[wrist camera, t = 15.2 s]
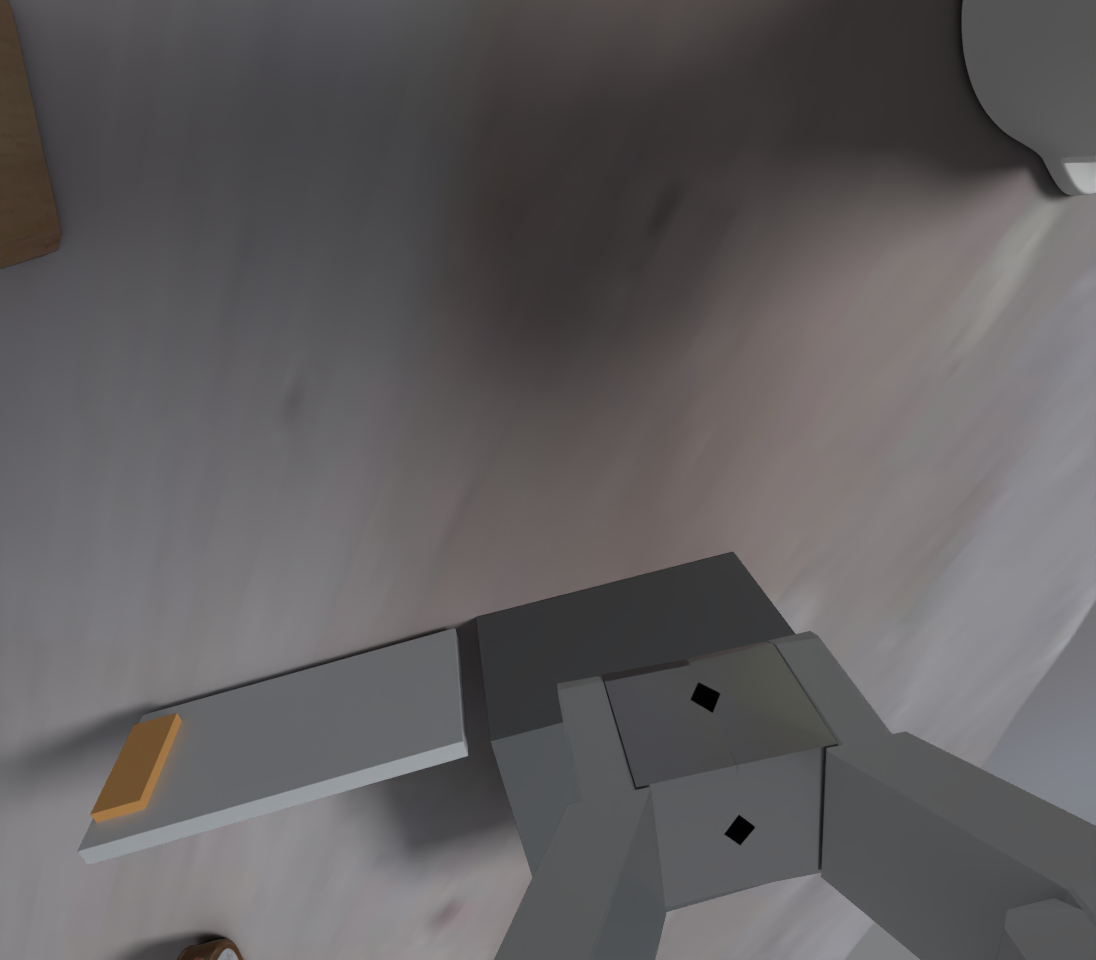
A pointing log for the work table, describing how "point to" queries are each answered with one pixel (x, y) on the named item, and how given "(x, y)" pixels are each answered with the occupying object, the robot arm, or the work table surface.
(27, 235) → the wooden block
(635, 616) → the cabinet body
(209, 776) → the door
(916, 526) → the work table surface
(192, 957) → the tin
